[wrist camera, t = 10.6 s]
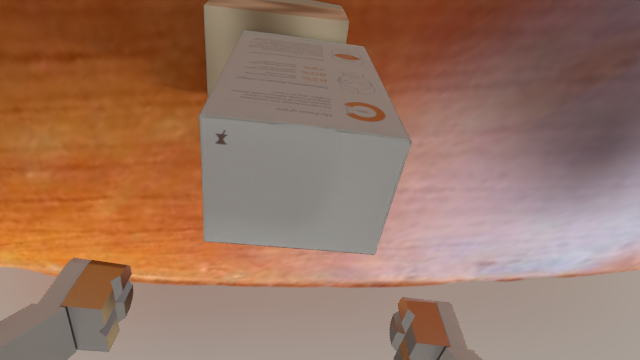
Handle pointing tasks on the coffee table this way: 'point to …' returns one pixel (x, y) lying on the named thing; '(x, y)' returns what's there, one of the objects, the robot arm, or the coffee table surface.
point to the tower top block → (264, 26)
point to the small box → (299, 147)
